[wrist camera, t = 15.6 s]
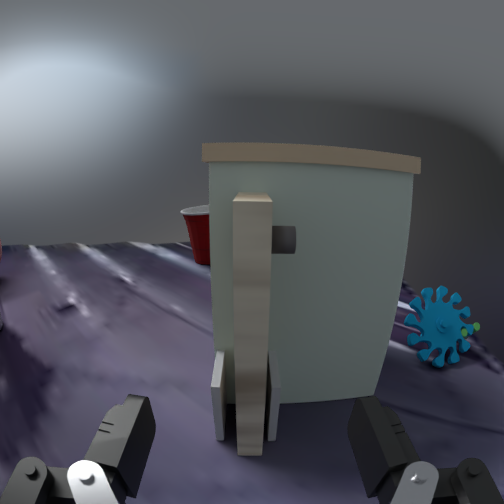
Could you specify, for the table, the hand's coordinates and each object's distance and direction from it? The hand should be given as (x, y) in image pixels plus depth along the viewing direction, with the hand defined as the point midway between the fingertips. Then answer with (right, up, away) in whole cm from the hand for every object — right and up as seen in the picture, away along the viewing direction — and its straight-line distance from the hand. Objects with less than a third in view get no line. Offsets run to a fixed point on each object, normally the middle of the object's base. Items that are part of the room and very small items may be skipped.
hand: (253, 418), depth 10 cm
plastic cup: (-10, +4, +55) cm, 56 cm away
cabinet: (+4, -6, +18) cm, 19 cm away
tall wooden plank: (0, -8, +11) cm, 14 cm away
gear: (+23, -6, +20) cm, 30 cm away
